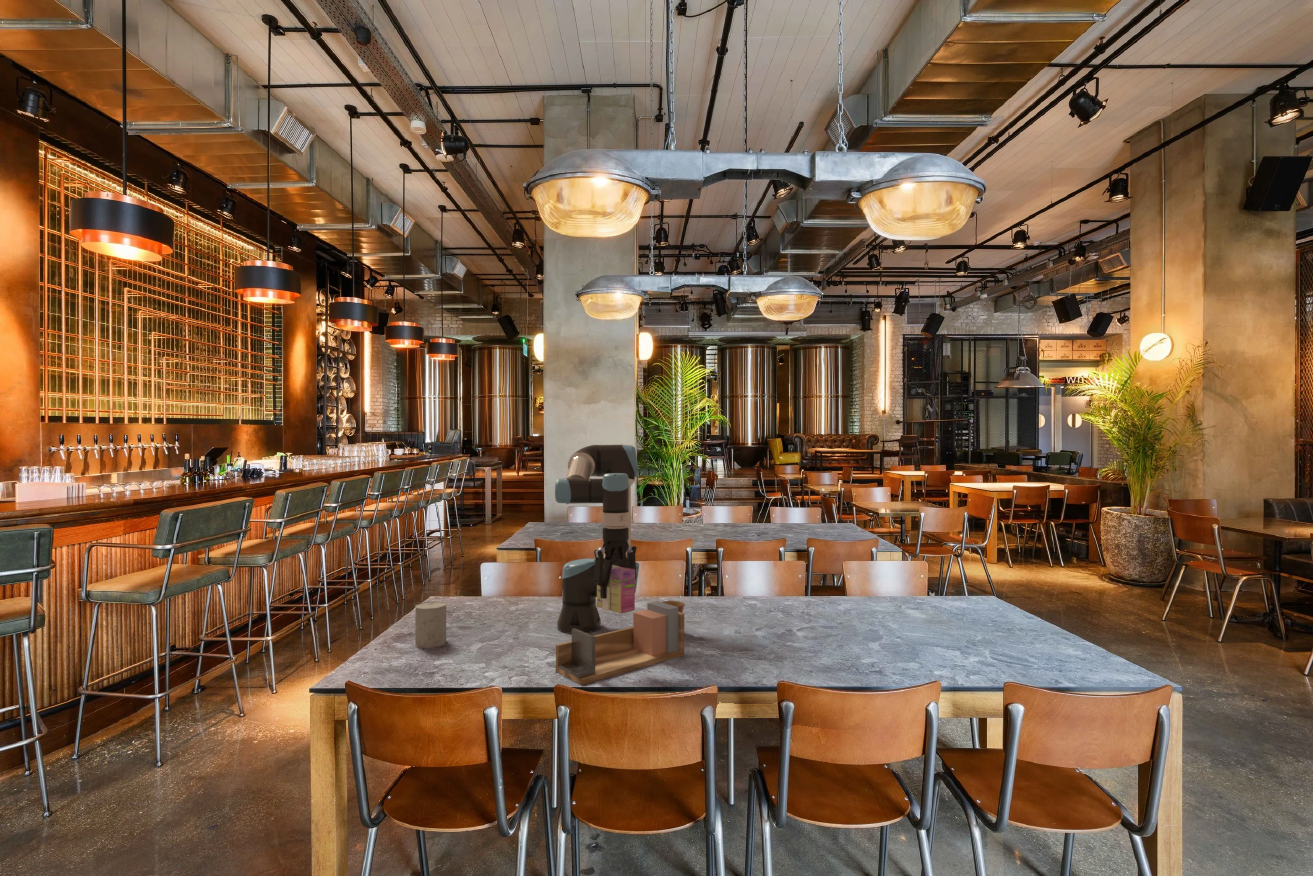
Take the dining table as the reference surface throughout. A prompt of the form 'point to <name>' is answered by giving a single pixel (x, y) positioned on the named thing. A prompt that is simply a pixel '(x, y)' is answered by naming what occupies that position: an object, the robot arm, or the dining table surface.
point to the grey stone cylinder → (430, 624)
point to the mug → (677, 604)
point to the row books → (656, 629)
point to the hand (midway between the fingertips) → (615, 607)
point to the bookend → (581, 655)
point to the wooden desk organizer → (616, 654)
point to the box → (620, 590)
